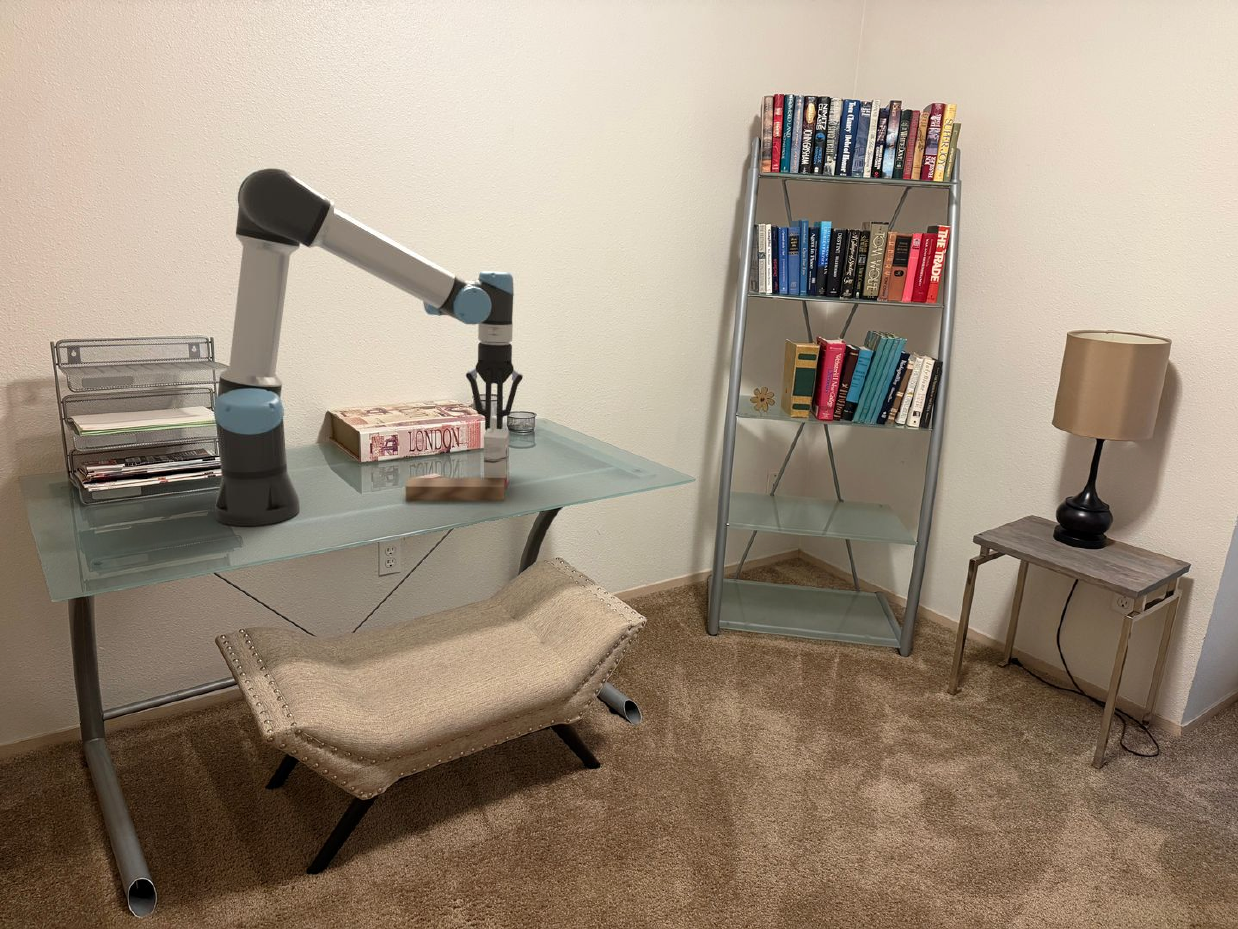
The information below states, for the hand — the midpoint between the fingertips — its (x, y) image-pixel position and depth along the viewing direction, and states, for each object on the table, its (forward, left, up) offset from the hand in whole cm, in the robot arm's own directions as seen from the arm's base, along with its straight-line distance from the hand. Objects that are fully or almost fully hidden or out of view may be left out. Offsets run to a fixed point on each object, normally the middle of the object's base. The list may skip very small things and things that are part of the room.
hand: (493, 444), depth 199 cm
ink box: (+1, -11, -6) cm, 13 cm away
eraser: (-14, -11, -7) cm, 19 cm away
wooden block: (-7, -19, -6) cm, 21 cm away
